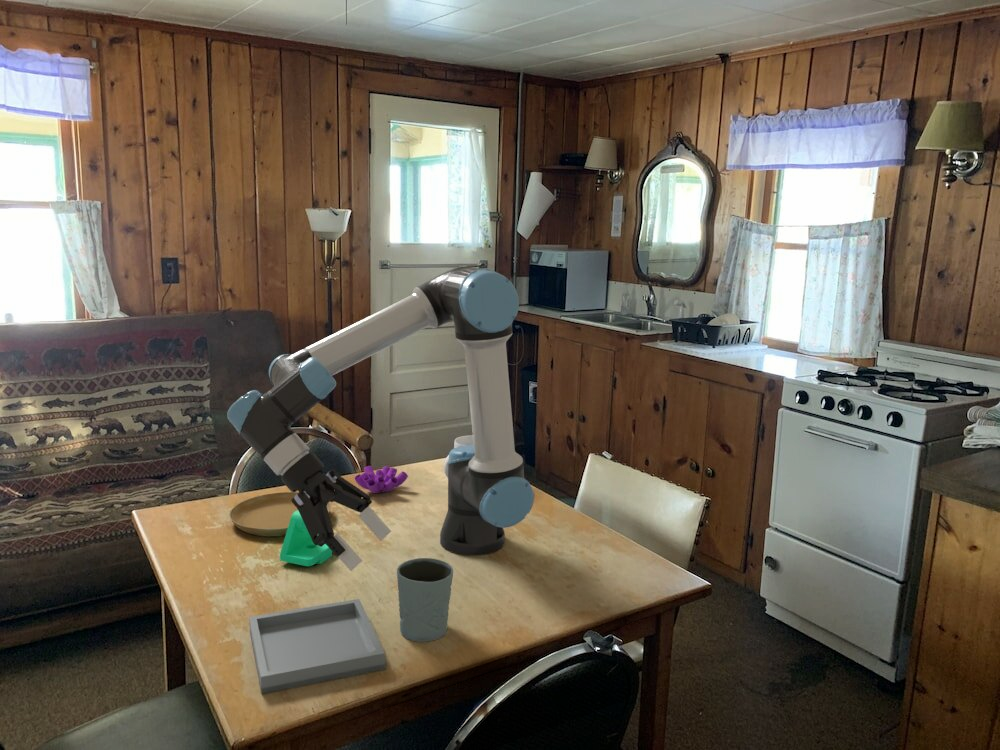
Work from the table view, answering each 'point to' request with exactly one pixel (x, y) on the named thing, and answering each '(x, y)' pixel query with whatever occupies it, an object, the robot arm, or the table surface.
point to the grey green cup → (424, 598)
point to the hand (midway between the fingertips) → (372, 550)
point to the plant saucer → (265, 514)
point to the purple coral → (380, 479)
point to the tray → (314, 645)
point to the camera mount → (302, 545)
